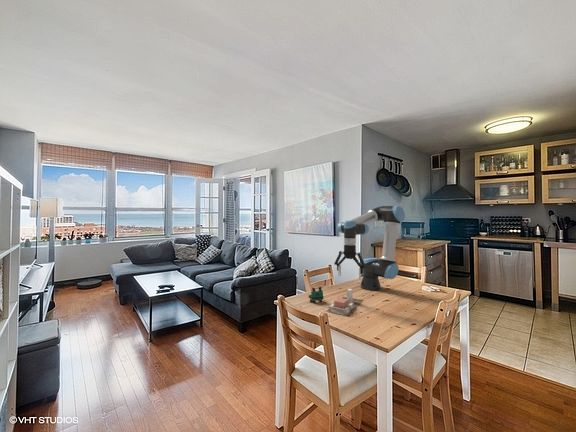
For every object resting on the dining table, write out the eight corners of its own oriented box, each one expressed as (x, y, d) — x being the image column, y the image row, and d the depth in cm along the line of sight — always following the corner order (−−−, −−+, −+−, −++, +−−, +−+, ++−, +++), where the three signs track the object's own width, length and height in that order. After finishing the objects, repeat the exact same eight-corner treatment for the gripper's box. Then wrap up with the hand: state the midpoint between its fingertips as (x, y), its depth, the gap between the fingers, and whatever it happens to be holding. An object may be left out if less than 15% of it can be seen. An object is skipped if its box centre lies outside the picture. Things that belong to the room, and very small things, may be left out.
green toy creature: (318, 284, 177) (324, 287, 167) (319, 300, 176) (325, 304, 166) (306, 285, 174) (311, 288, 165) (306, 301, 174) (312, 305, 164)
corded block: (346, 300, 171) (346, 288, 171) (355, 301, 168) (355, 289, 168) (334, 311, 153) (334, 297, 153) (343, 313, 150) (343, 299, 149)
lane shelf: (343, 298, 178) (343, 292, 178) (363, 301, 171) (363, 295, 171) (326, 312, 153) (326, 306, 153) (349, 318, 145) (349, 311, 145)
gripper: (329, 243, 171) (329, 275, 171) (367, 246, 158) (367, 281, 158) (333, 242, 177) (333, 273, 177) (370, 245, 164) (370, 278, 164)
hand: (349, 277), depth 168 cm, fingers open, 13 cm apart
